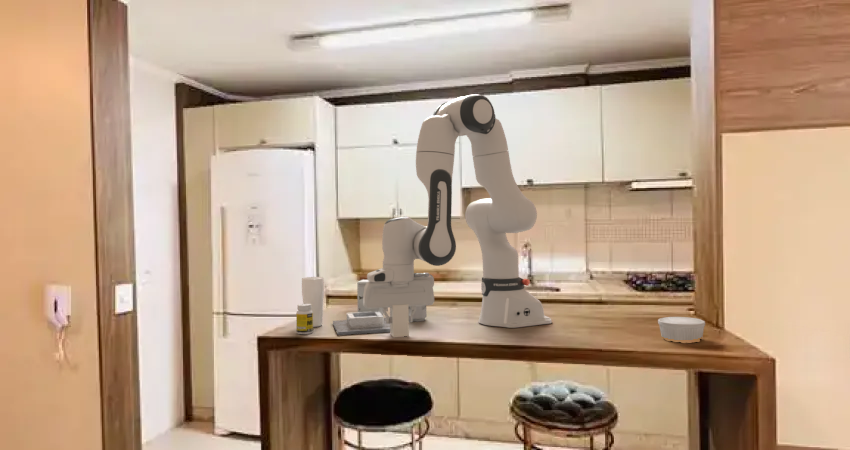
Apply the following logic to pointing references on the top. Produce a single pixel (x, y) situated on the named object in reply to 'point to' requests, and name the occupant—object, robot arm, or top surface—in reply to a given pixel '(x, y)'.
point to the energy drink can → (419, 313)
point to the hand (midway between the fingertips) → (399, 322)
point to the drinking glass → (314, 297)
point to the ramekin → (681, 328)
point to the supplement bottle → (304, 319)
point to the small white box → (399, 320)
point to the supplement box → (360, 293)
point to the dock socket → (362, 323)
